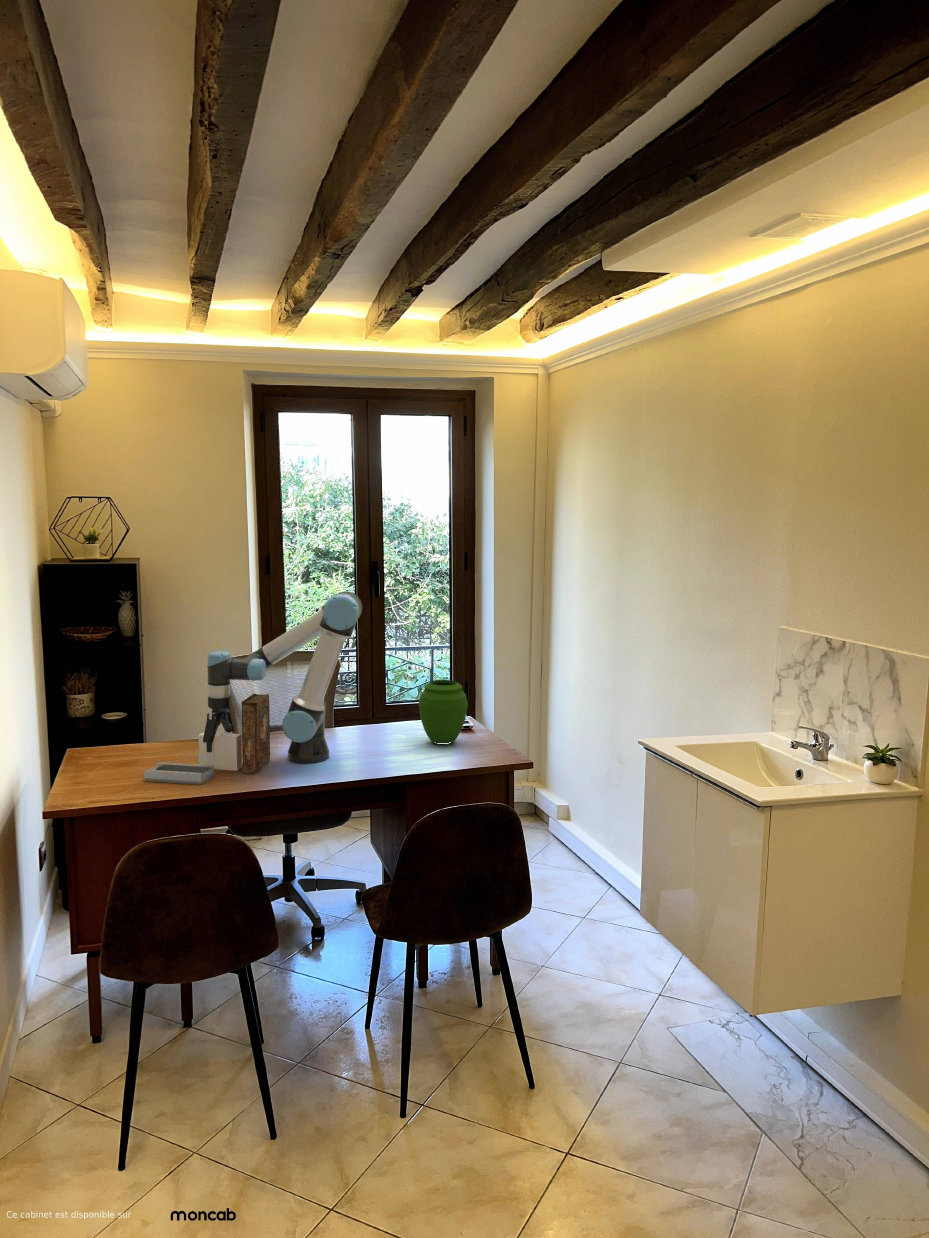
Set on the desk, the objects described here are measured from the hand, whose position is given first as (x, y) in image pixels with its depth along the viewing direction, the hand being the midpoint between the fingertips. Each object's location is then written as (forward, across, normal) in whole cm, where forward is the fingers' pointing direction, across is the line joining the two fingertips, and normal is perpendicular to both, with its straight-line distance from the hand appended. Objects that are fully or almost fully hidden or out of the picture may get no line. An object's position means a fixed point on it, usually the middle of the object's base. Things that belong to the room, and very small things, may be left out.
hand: (219, 755), depth 287 cm
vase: (+4, -48, +71) cm, 86 cm away
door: (+4, 0, 0) cm, 5 cm away
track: (+5, +14, -8) cm, 16 cm away
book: (+4, -3, +12) cm, 14 cm away
